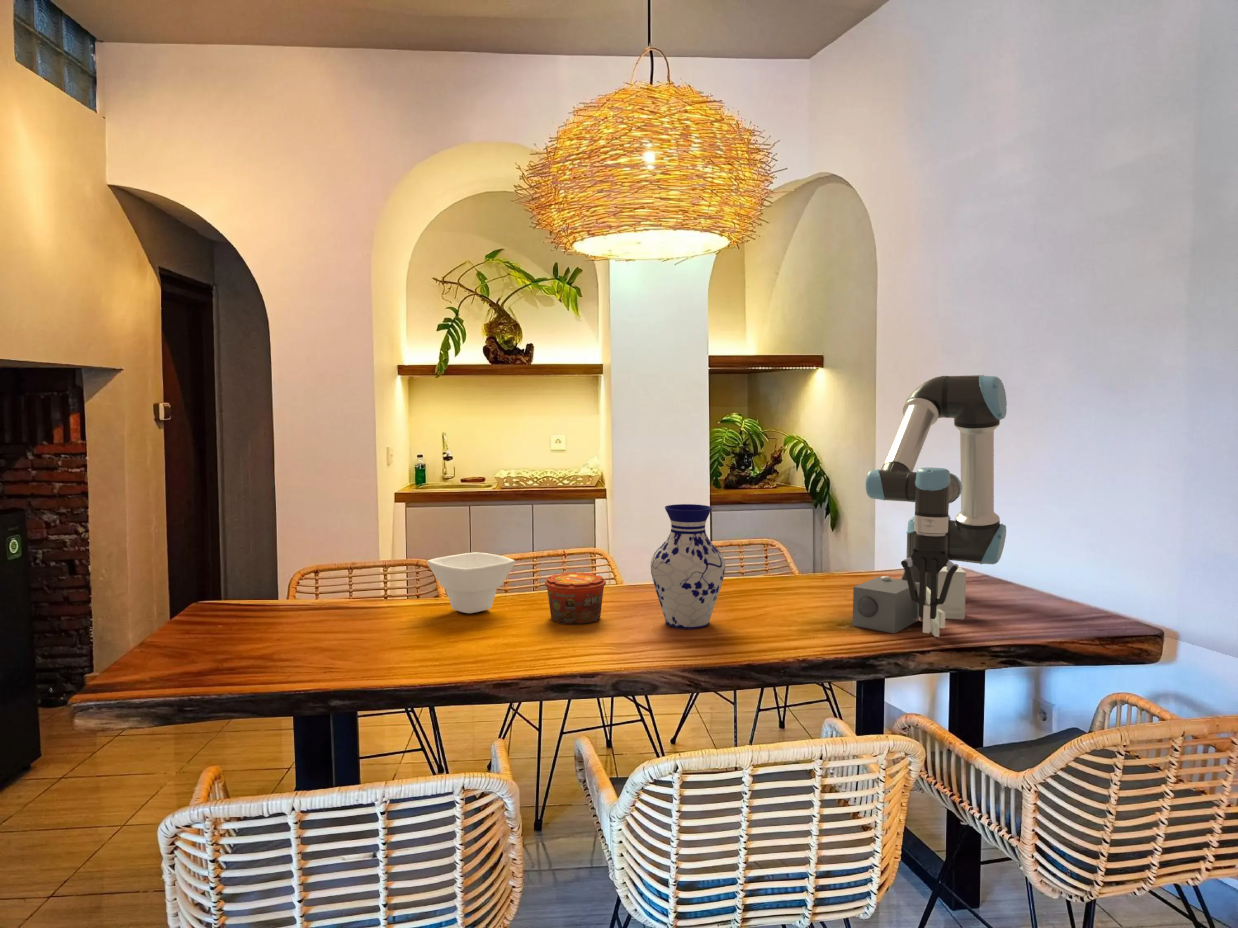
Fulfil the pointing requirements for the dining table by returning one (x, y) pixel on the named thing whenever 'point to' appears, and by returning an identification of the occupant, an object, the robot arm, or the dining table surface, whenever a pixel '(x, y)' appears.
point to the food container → (575, 597)
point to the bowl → (471, 578)
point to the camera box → (884, 605)
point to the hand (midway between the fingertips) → (926, 631)
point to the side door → (940, 616)
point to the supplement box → (953, 594)
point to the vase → (687, 569)
